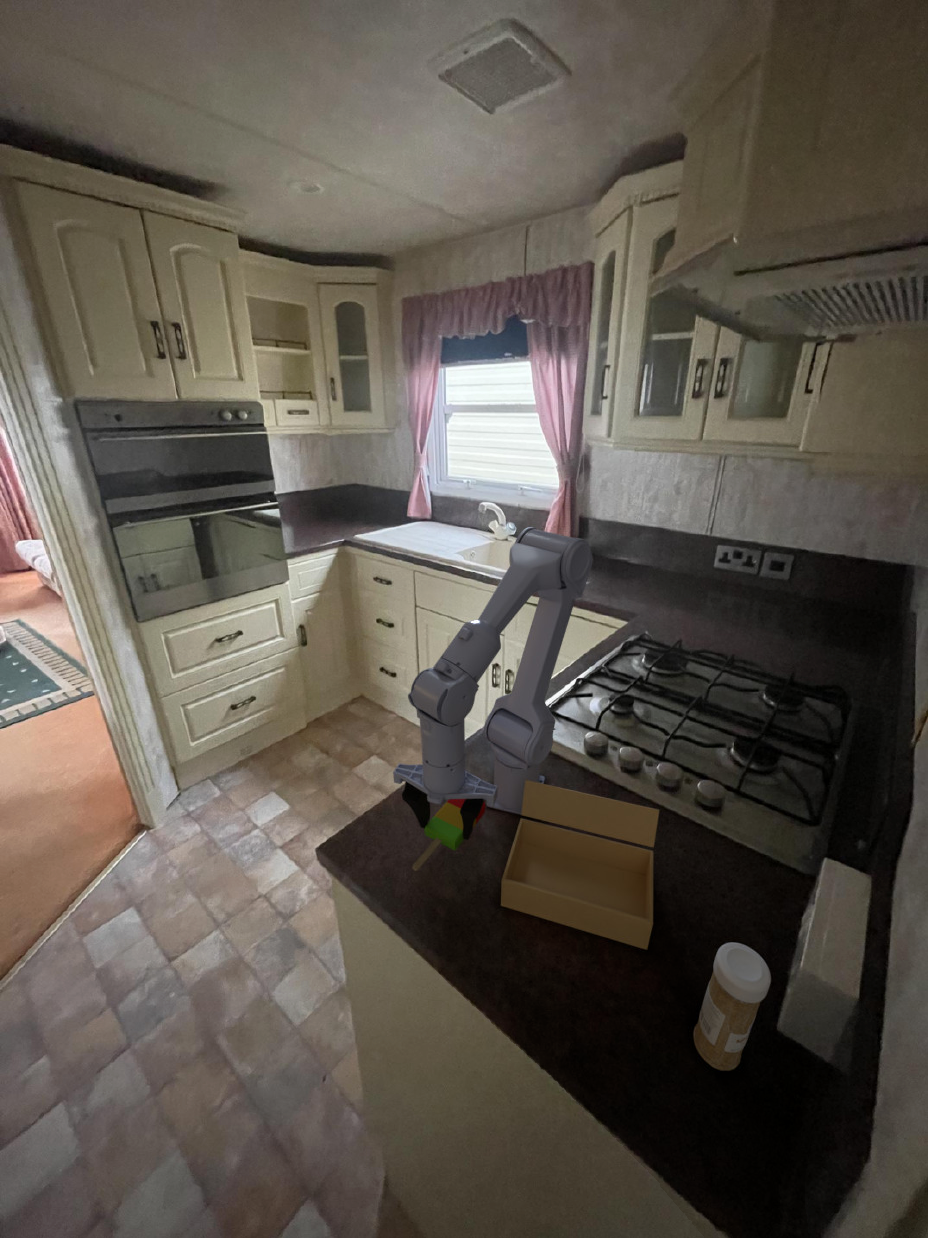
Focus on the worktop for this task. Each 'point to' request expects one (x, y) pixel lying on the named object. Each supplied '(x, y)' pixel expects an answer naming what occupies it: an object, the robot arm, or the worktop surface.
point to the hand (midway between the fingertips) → (446, 828)
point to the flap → (590, 813)
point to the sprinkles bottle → (730, 1005)
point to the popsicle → (445, 829)
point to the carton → (581, 882)
